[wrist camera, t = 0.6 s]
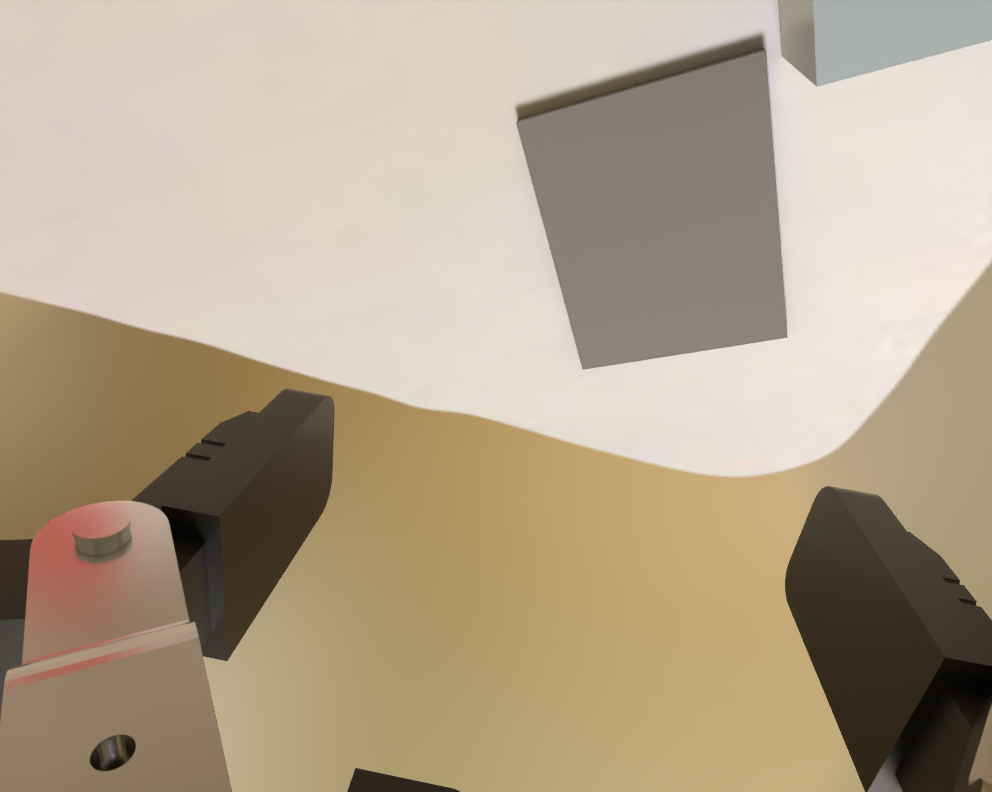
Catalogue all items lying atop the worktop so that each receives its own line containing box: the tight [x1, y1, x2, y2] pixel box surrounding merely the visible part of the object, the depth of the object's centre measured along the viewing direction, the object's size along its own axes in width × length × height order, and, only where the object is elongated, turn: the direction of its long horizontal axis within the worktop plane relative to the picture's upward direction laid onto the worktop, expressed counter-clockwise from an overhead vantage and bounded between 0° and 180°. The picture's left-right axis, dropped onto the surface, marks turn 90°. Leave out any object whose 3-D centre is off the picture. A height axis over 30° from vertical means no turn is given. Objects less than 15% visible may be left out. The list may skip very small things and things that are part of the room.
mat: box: [516, 49, 787, 369], centre depth 33 cm, size 14×11×1 cm
